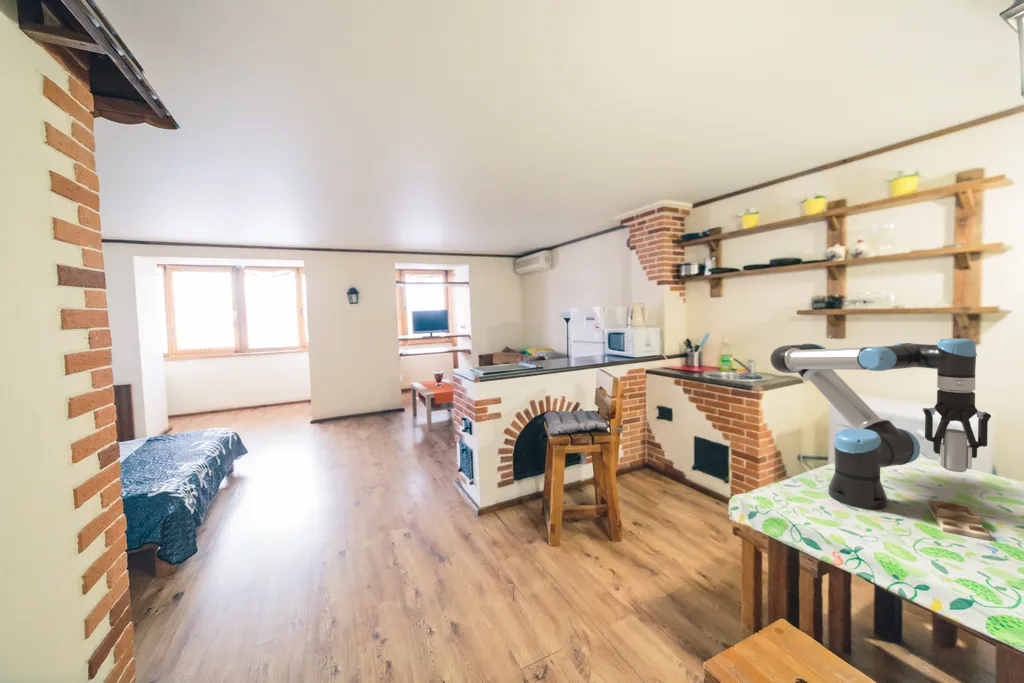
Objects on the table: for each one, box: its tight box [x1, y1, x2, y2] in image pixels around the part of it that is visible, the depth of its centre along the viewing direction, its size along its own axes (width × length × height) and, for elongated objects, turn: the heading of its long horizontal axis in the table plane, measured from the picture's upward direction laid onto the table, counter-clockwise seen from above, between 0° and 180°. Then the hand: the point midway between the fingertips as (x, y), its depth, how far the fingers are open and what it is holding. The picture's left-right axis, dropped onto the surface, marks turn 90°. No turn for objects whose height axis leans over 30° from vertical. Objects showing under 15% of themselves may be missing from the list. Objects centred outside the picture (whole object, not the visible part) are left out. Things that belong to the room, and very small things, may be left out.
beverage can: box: [942, 428, 968, 473], centre depth 116 cm, size 5×5×12 cm
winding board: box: [927, 498, 992, 541], centre depth 115 cm, size 9×16×3 cm, turn 144°
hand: (954, 465), depth 117 cm, fingers closed on beverage can, 5 cm apart
